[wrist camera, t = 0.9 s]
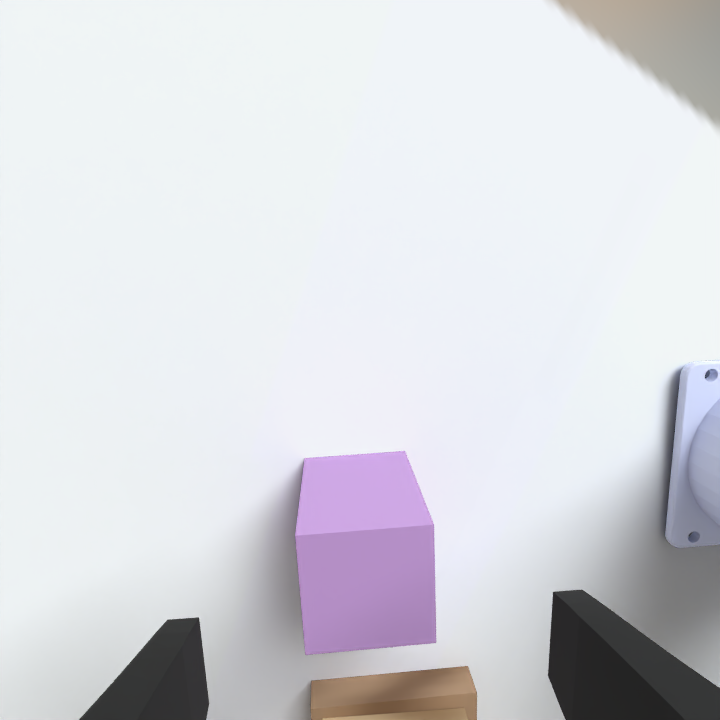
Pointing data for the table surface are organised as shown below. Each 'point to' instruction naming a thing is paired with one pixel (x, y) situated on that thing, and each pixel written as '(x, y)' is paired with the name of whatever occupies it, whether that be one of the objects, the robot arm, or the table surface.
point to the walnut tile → (395, 693)
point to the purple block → (364, 554)
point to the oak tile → (412, 715)
